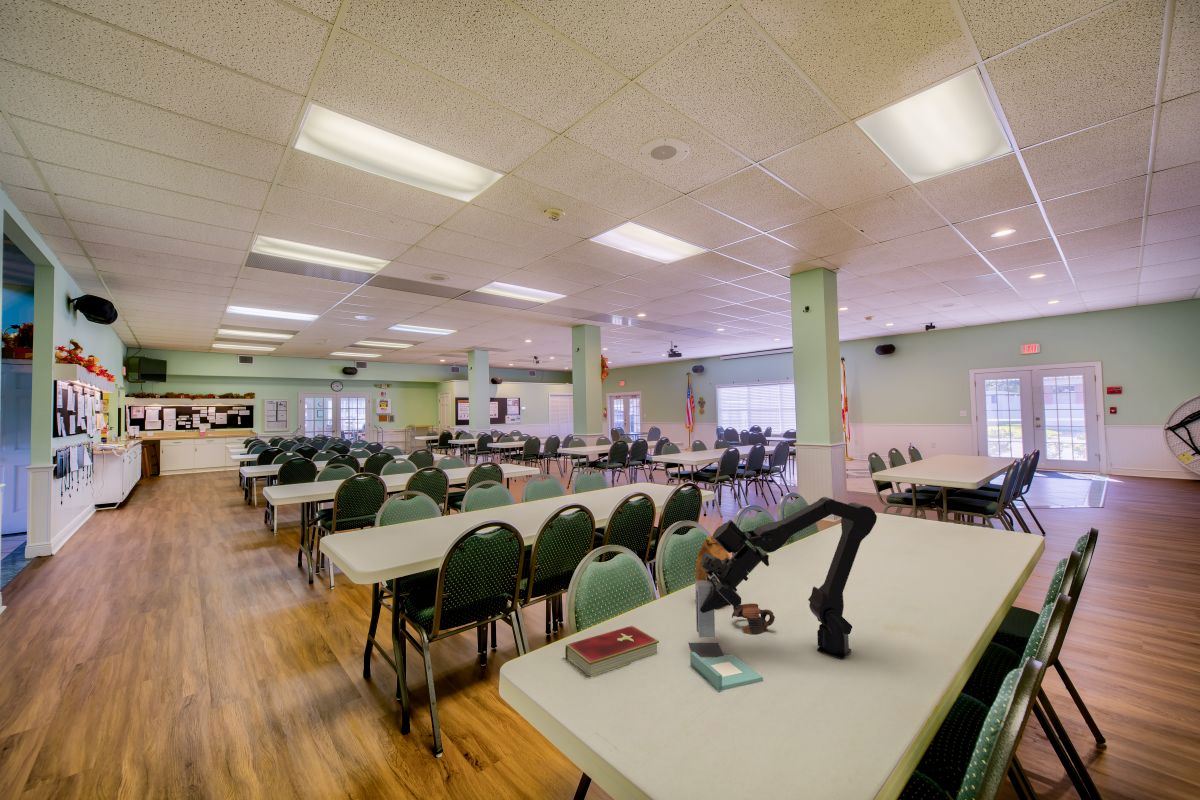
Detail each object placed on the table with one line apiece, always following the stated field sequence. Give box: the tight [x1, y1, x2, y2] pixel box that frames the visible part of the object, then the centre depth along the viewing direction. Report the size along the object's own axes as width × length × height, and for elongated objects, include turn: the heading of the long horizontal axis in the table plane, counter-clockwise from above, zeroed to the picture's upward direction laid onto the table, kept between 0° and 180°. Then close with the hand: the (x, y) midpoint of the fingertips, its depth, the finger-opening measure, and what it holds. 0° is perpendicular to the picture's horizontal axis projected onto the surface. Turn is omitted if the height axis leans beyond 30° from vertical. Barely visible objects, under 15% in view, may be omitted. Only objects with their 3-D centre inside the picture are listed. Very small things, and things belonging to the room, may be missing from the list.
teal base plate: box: [689, 652, 764, 693], centre depth 116 cm, size 12×12×4 cm
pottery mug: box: [731, 603, 776, 635], centre depth 142 cm, size 12×10×8 cm
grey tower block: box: [694, 580, 716, 638], centre depth 129 cm, size 4×4×13 cm
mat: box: [687, 642, 725, 658], centre depth 128 cm, size 8×8×1 cm
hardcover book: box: [564, 625, 660, 678], centre depth 126 cm, size 12×21×4 cm, turn 123°
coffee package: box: [695, 535, 731, 581], centre depth 163 cm, size 10×12×22 cm
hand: (699, 608), depth 129 cm, fingers closed on grey tower block, 4 cm apart
